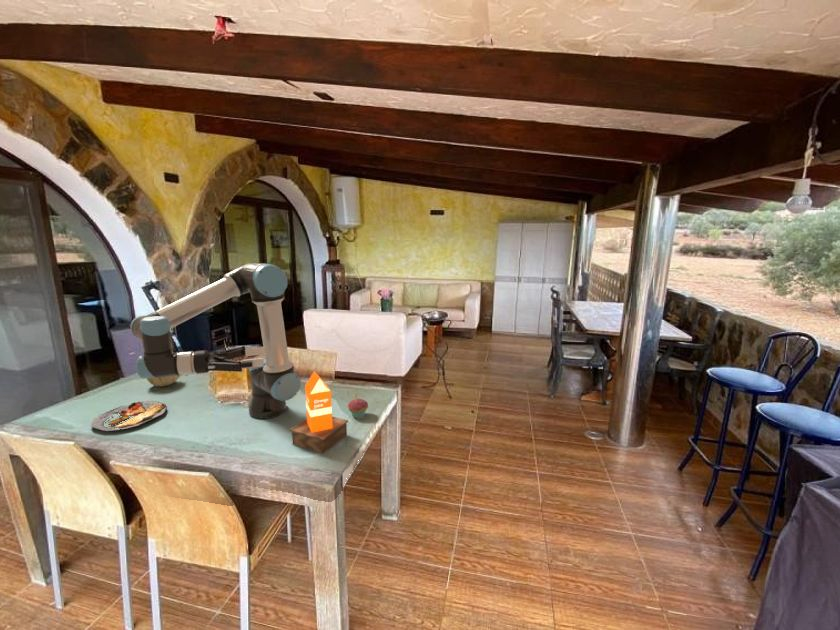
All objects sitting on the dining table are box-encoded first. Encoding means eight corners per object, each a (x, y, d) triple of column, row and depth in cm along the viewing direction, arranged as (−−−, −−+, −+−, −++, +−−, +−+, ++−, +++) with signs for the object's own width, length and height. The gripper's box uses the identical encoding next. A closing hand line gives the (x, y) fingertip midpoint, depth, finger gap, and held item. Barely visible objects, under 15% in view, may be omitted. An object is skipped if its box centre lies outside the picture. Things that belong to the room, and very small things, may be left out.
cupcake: (364, 421, 158) (363, 394, 156) (344, 419, 160) (343, 392, 158) (370, 412, 167) (370, 386, 164) (352, 410, 168) (351, 384, 166)
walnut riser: (290, 444, 141) (289, 429, 139) (317, 426, 154) (317, 412, 153) (323, 454, 134) (322, 439, 133) (348, 434, 148) (348, 420, 146)
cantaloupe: (186, 385, 194) (182, 356, 191) (152, 393, 183) (148, 363, 180) (176, 377, 204) (172, 350, 200) (143, 385, 193) (139, 357, 190)
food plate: (141, 401, 174) (140, 394, 174) (180, 410, 167) (178, 402, 166) (79, 429, 152) (77, 420, 151) (120, 440, 144) (118, 431, 143)
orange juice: (327, 417, 148) (324, 368, 144) (332, 428, 141) (330, 376, 136) (306, 422, 145) (303, 372, 141) (311, 432, 137) (308, 380, 133)
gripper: (203, 361, 138) (266, 355, 146) (188, 387, 116) (263, 378, 123) (200, 341, 137) (264, 336, 144) (185, 363, 114) (262, 356, 121)
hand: (264, 356), depth 133 cm, fingers open, 13 cm apart
